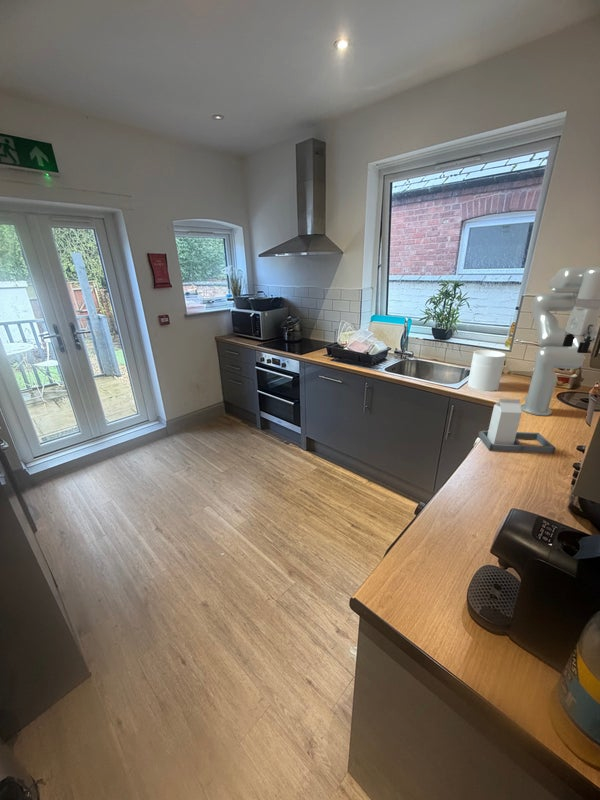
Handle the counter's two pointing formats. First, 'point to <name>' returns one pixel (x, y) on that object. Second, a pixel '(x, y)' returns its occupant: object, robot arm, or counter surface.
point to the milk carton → (504, 421)
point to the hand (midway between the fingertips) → (574, 349)
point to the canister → (486, 370)
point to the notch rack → (517, 446)
